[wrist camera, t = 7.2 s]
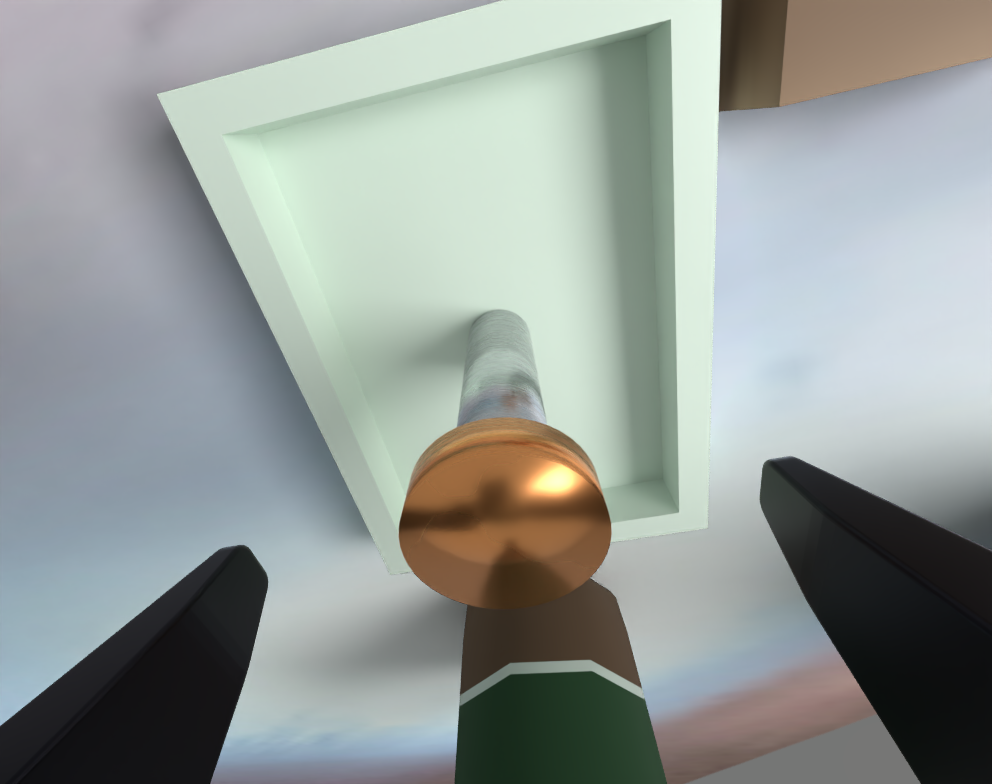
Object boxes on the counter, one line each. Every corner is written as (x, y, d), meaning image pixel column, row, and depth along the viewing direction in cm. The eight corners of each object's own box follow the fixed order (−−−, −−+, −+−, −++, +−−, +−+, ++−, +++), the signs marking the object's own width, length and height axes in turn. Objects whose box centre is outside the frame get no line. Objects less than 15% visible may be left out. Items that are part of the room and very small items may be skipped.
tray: (684, 483, 19) (707, 528, 17) (401, 528, 20) (390, 574, 18) (679, -24, 11) (723, -60, 9) (214, 100, 12) (156, 94, 10)
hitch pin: (559, 375, 15) (619, 593, 8) (461, 393, 16) (431, 620, 8) (543, 276, 14) (600, 435, 6) (434, 299, 14) (368, 475, 7)
